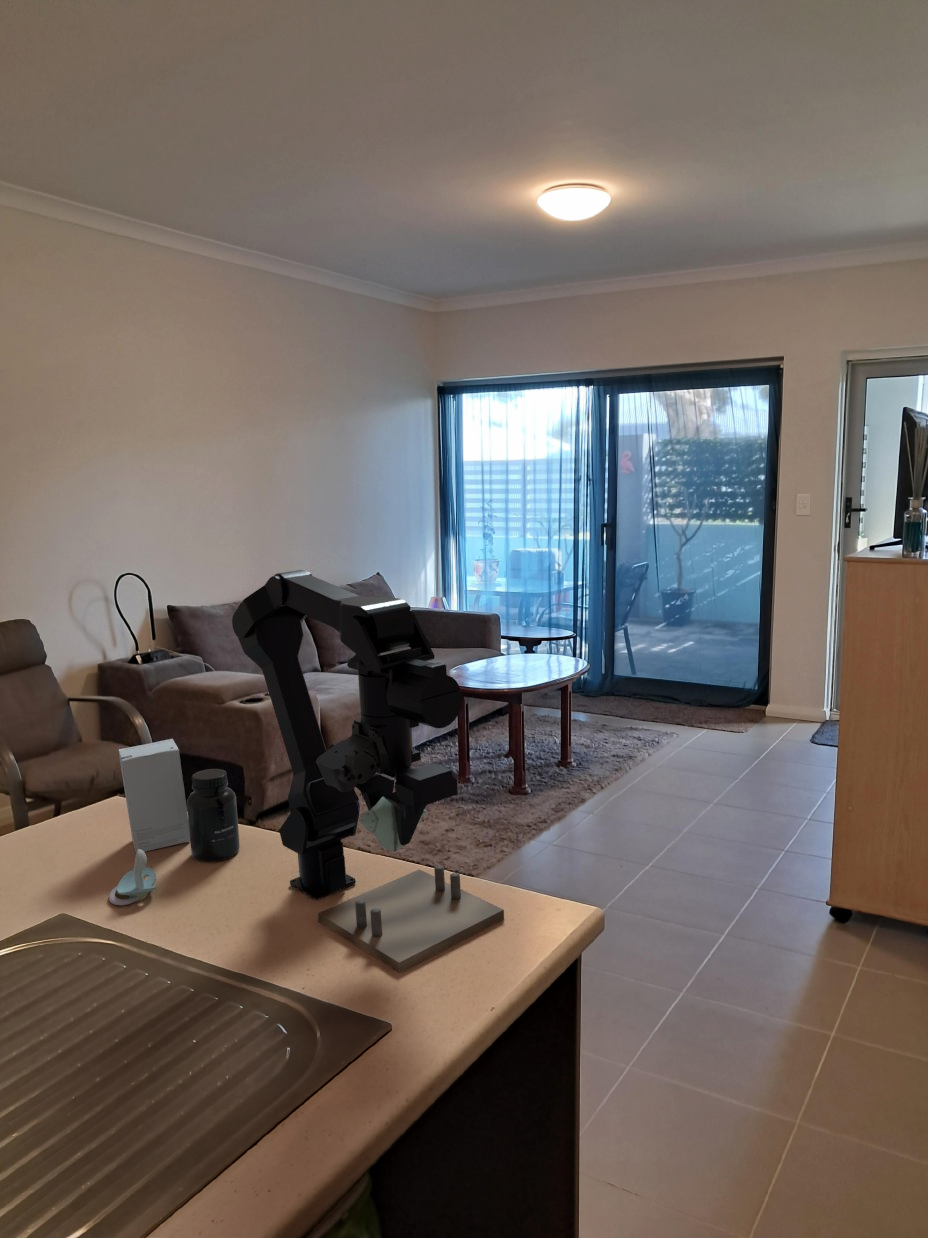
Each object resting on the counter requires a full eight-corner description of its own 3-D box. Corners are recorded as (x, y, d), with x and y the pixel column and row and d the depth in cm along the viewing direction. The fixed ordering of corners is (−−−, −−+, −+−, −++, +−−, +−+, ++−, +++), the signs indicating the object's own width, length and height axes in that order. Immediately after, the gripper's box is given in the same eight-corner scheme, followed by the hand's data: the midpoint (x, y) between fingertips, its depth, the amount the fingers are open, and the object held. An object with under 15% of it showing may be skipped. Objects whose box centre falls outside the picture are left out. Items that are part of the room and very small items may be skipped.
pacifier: (107, 913, 119) (156, 903, 121) (100, 868, 118) (149, 858, 120) (111, 889, 126) (157, 879, 128) (104, 845, 125) (151, 837, 127)
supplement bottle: (227, 864, 131) (219, 783, 129) (183, 862, 133) (174, 782, 131) (248, 844, 138) (241, 766, 136) (205, 842, 139) (197, 765, 137)
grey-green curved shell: (363, 863, 107) (358, 807, 106) (357, 849, 111) (353, 794, 110) (430, 852, 109) (427, 796, 108) (422, 838, 113) (419, 785, 112)
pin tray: (318, 922, 114) (315, 890, 113) (419, 877, 125) (417, 848, 124) (399, 972, 102) (397, 937, 102) (504, 919, 113) (502, 886, 112)
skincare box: (186, 829, 144) (176, 737, 142) (191, 843, 139) (181, 747, 136) (128, 841, 141) (117, 746, 138) (132, 856, 136) (120, 758, 133)
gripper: (282, 709, 109) (292, 835, 112) (373, 745, 95) (382, 888, 98) (362, 690, 116) (369, 809, 119) (458, 720, 102) (464, 855, 105)
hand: (393, 838), depth 110 cm, fingers closed on grey-green curved shell, 4 cm apart
